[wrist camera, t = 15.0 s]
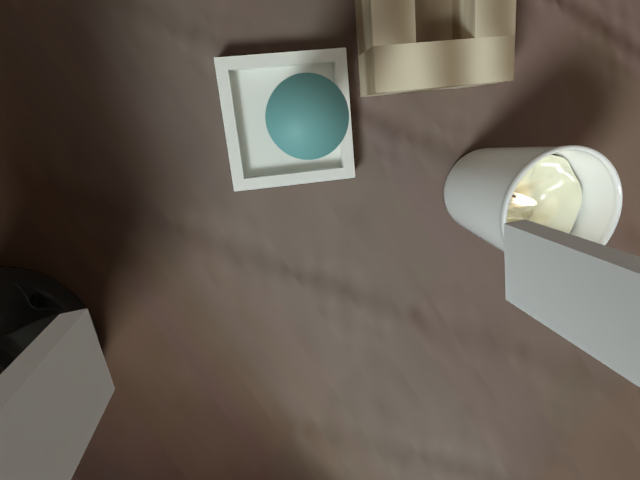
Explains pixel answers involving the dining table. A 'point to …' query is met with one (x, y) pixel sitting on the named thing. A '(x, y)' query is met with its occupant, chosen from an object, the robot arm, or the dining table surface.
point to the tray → (250, 124)
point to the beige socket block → (433, 44)
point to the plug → (307, 116)
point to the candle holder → (535, 191)
